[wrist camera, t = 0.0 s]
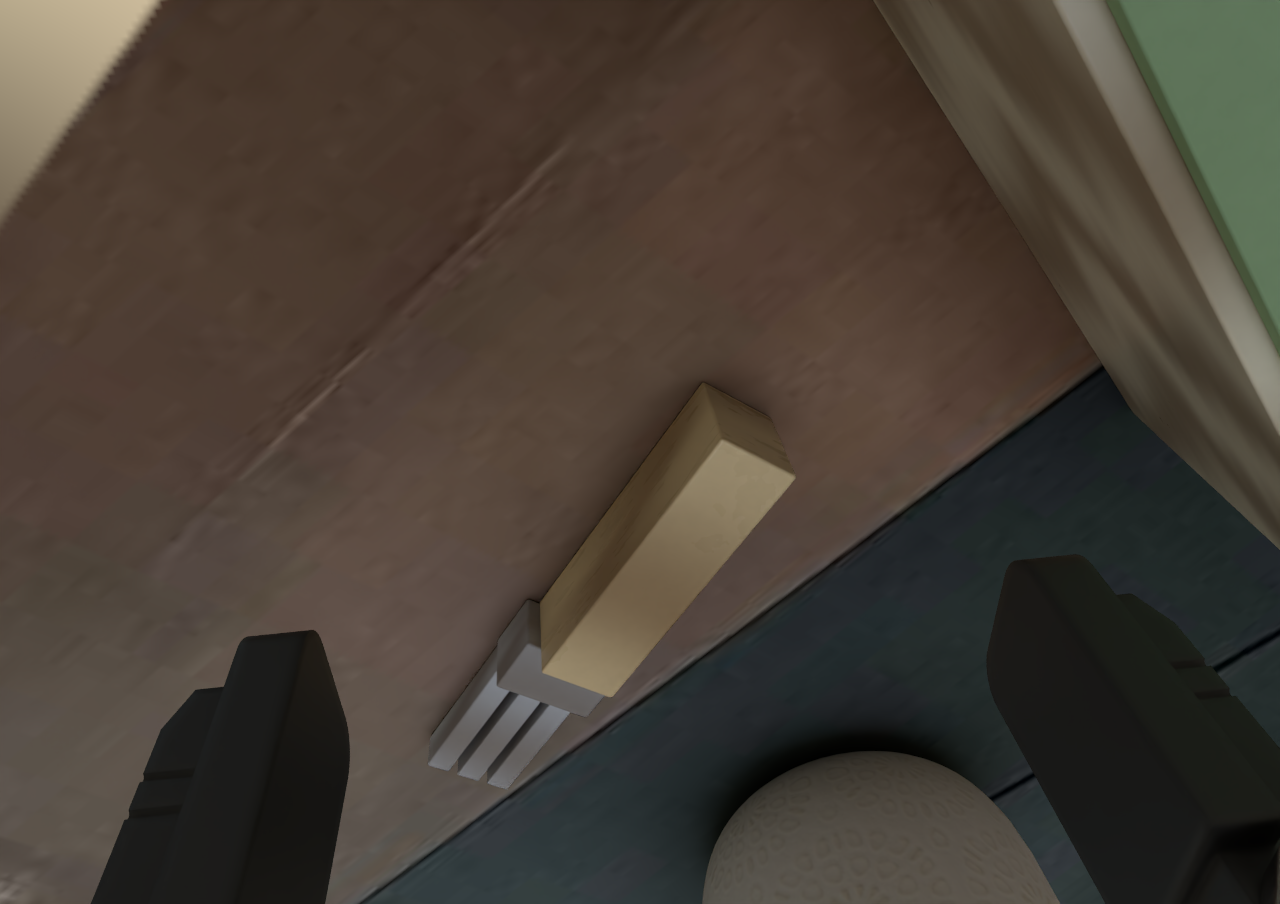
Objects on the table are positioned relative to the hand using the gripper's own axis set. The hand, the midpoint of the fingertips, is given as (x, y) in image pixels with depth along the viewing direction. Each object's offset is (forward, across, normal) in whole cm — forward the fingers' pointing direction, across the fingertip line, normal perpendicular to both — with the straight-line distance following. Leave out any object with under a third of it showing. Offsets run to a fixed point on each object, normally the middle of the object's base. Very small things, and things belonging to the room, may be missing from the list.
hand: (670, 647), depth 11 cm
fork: (+14, +1, +12) cm, 18 cm away
